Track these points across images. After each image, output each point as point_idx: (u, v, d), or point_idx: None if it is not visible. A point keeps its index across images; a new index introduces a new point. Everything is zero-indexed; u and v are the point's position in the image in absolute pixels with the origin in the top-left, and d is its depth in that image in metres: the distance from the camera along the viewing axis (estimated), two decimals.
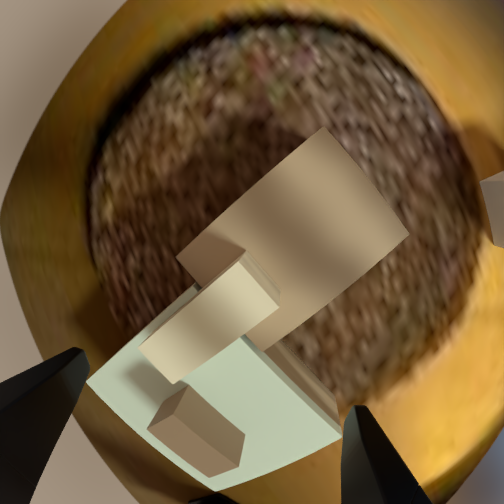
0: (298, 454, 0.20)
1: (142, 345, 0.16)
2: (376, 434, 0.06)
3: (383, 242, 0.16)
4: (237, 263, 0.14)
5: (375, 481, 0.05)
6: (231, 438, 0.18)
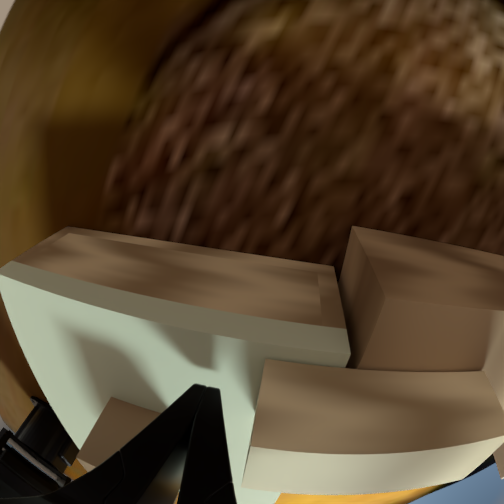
0: None
1: (269, 451, 0.06)
2: (211, 417, 0.07)
3: None
4: None
5: None
6: None
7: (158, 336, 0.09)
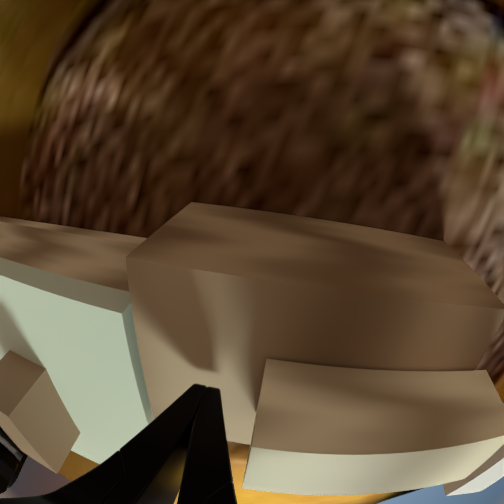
0: None
1: (270, 452, 0.06)
2: (212, 417, 0.07)
3: None
4: None
5: None
6: (63, 440, 0.12)
7: (13, 290, 0.09)
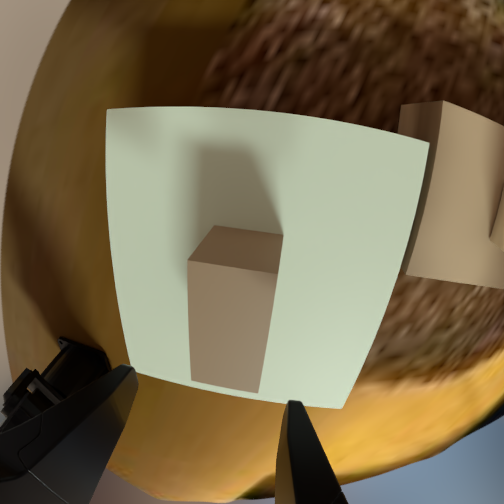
0: (285, 398, 0.17)
1: None
2: (304, 431, 0.07)
3: None
4: None
5: (293, 480, 0.05)
6: None
7: (291, 128, 0.11)
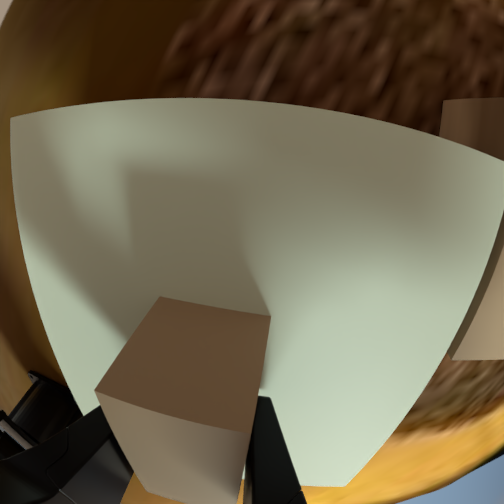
0: None
1: None
2: (269, 427, 0.07)
3: None
4: None
5: (252, 476, 0.05)
6: None
7: (285, 131, 0.06)
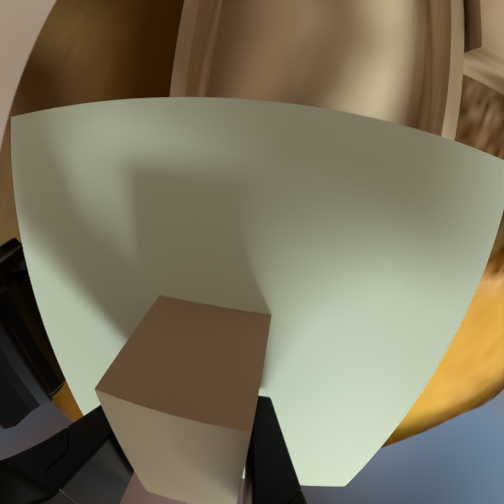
0: None
1: None
2: (269, 427, 0.07)
3: None
4: None
5: (252, 476, 0.05)
6: None
7: (285, 129, 0.06)
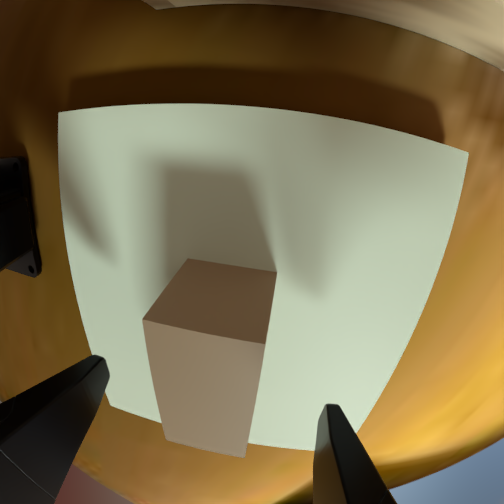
0: (280, 442, 0.14)
1: None
2: (346, 434, 0.07)
3: None
4: None
5: (341, 482, 0.05)
6: None
7: (288, 129, 0.08)
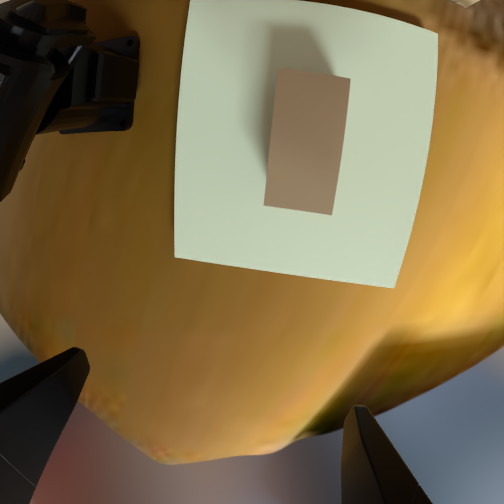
0: (339, 272, 0.18)
1: None
2: (376, 434, 0.06)
3: None
4: None
5: (375, 481, 0.05)
6: None
7: (340, 14, 0.12)
